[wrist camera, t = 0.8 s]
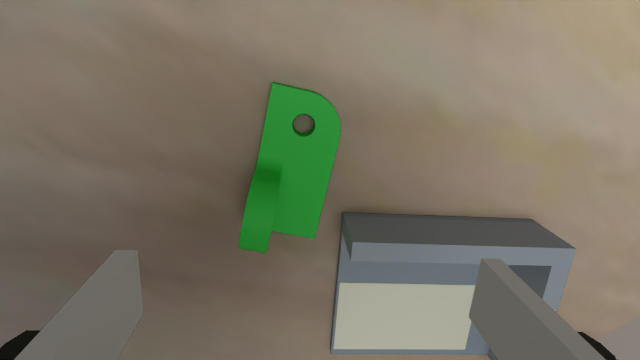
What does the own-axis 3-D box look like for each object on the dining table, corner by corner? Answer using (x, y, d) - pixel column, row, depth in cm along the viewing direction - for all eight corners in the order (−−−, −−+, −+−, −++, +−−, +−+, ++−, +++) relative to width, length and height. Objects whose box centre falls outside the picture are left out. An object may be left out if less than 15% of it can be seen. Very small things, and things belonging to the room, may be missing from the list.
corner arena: (330, 348, 38) (336, 396, 33) (342, 212, 34) (352, 242, 28) (498, 348, 40) (531, 395, 34) (531, 219, 35) (575, 248, 30)
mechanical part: (313, 228, 34) (319, 276, 27) (247, 216, 33) (234, 262, 26) (345, 98, 31) (362, 111, 23) (273, 81, 30) (267, 89, 22)
